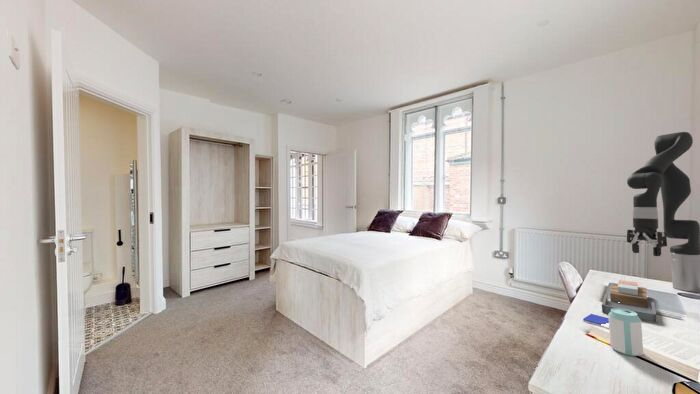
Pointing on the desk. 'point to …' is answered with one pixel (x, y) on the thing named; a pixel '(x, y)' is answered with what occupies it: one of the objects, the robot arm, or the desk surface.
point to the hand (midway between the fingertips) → (646, 254)
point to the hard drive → (596, 319)
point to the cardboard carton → (629, 296)
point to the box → (631, 309)
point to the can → (625, 332)
